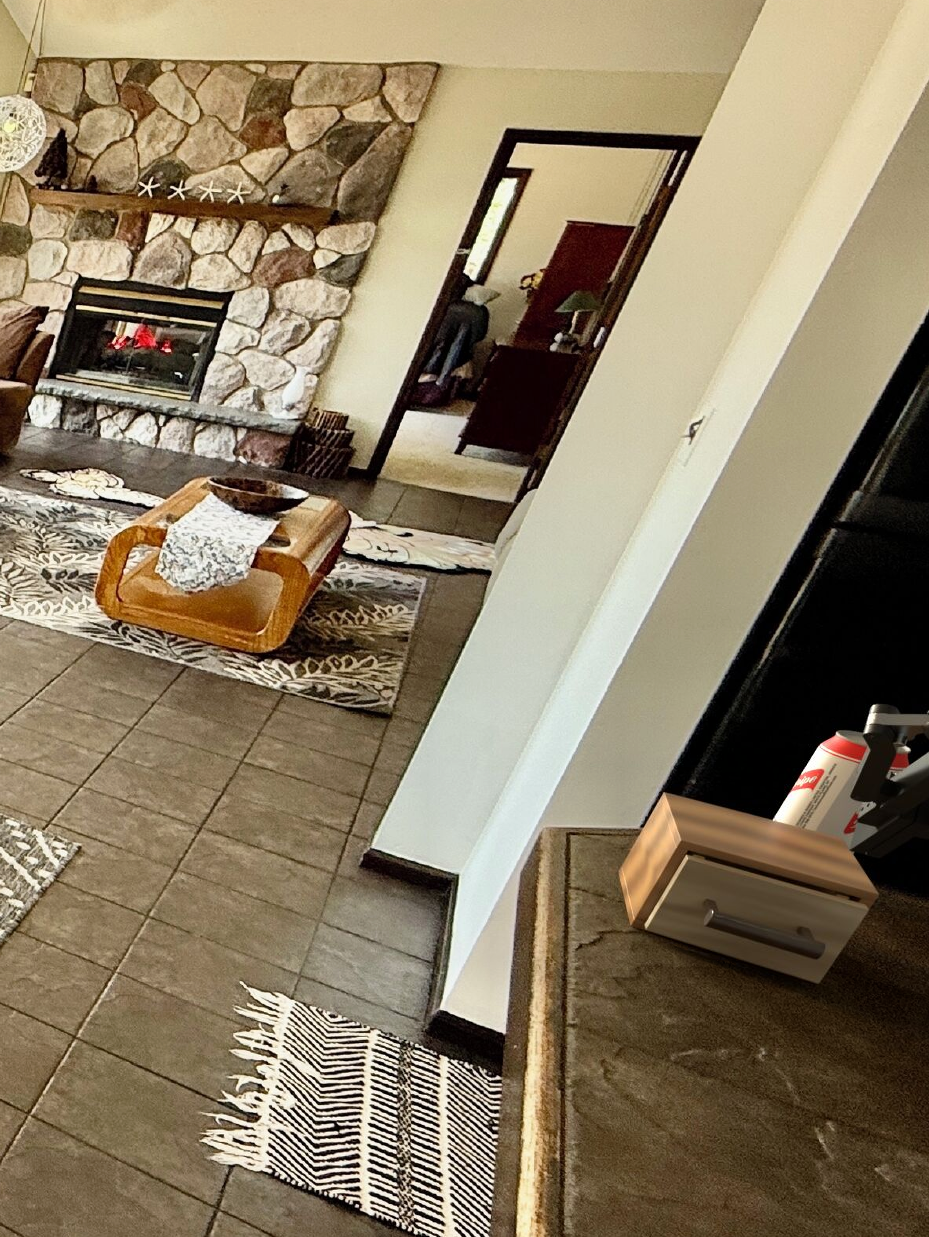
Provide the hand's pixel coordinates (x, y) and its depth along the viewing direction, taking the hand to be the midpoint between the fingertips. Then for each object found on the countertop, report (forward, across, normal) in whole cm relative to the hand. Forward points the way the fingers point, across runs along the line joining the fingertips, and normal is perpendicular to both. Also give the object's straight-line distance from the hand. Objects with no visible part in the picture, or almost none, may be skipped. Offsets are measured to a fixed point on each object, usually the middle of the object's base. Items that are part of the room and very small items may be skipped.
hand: (868, 839), depth 91 cm
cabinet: (+28, 0, +3) cm, 28 cm away
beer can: (+44, +8, +19) cm, 49 cm away
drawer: (+24, 0, 0) cm, 24 cm away
